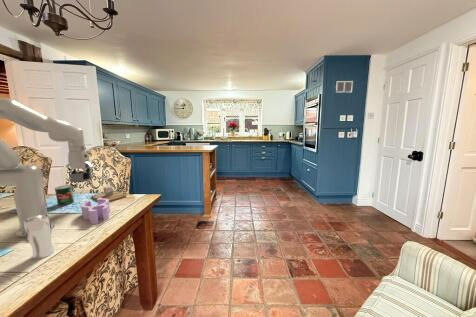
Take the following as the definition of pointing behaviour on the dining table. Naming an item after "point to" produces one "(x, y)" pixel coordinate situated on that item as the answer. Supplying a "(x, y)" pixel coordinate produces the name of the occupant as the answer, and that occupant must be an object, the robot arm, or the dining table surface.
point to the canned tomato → (64, 195)
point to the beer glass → (39, 235)
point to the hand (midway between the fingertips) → (81, 178)
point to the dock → (111, 198)
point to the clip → (96, 210)
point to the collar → (79, 177)
